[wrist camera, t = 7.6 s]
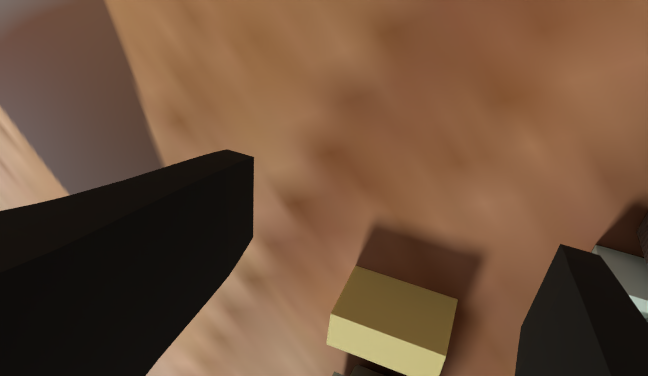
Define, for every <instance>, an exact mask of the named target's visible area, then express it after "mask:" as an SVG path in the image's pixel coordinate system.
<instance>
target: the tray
mask: <svg viewBox="0 0 648 376" xmlns="http://www.w3.org/2000/svg"><path fill="white" fill-rule="evenodd" d="M591 253H594V254H597V255H600V256H601V257H602V259H603V260H604V261H605V262H606V264H607V265H608V267H609V268H610V269H611V271H612V272H613V274H614V275H615V276H616V278H617V279H618V281H619V282H620V284H621V285H622V286H623V288H624V289H625V291H626V292H627V294H628V295H629V296H630V298H631V299H632V301H633V302H634V304H635V305H636V306H637V308H638V309H639V311H640V312H641V314H642V315H643V316H644V318H648V266H647V265H646V262H645V258H642V257H638V256H635V255H631V254H627V253H624V252H620V251H617V250H613V249H609V248H606V247H602V246H599V245H595V247H594V249H593V250H592V252H591Z"/></svg>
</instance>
